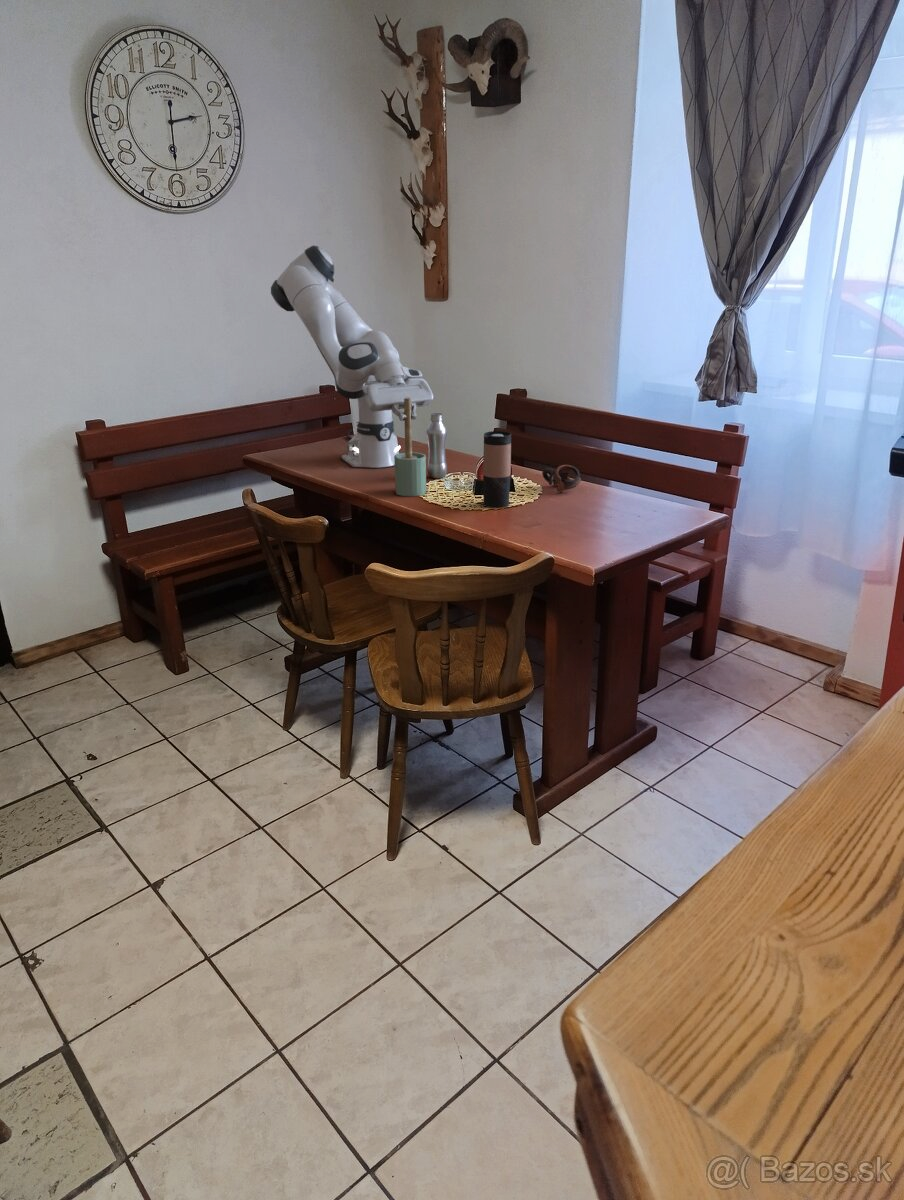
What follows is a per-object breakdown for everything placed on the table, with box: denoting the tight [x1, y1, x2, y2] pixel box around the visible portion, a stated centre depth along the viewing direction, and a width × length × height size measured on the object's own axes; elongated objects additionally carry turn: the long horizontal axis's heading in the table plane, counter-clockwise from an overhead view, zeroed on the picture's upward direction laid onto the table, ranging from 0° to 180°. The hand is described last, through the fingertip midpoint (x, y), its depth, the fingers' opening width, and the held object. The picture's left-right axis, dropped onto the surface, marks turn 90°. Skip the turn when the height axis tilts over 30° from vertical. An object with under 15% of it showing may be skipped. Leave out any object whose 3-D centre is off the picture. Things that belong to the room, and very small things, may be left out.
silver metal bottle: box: [426, 412, 448, 479], centre depth 255 cm, size 6×7×20 cm
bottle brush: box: [400, 398, 417, 459], centre depth 236 cm, size 5×5×22 cm
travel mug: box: [482, 430, 512, 509], centre depth 226 cm, size 8×8×20 cm
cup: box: [393, 451, 427, 497], centre depth 240 cm, size 9×9×11 cm
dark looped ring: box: [541, 464, 582, 494], centre depth 244 cm, size 12×10×8 cm
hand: (408, 418), depth 234 cm, fingers closed on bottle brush
